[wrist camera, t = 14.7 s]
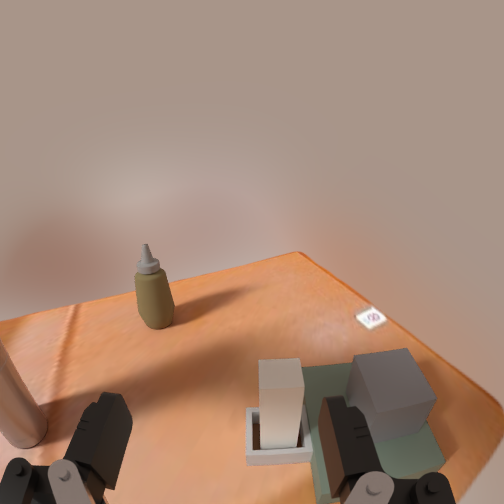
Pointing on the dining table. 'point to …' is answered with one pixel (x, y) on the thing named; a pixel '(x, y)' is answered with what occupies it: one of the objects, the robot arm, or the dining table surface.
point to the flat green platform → (375, 411)
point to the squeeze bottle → (153, 292)
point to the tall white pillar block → (280, 402)
